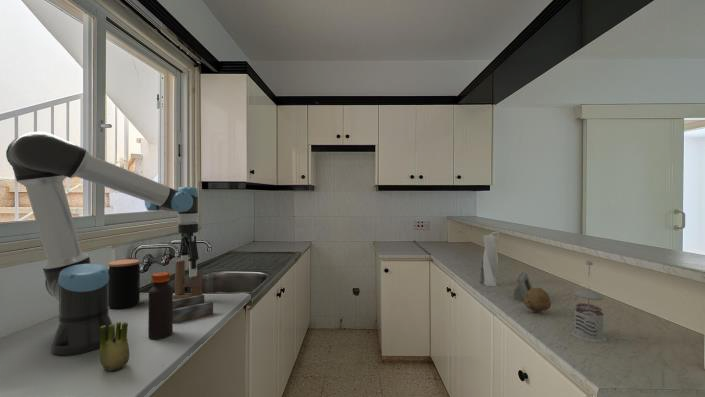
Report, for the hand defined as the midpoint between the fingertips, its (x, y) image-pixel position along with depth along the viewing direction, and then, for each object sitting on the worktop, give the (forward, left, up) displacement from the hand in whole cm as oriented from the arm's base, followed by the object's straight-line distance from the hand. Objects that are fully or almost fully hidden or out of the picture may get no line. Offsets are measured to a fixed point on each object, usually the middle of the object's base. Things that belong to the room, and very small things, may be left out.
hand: (188, 273), depth 137 cm
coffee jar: (-21, +13, -13) cm, 28 cm away
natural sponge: (+104, -100, -13) cm, 145 cm away
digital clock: (+120, -89, -13) cm, 150 cm away
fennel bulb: (-28, -44, -13) cm, 54 cm away
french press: (+94, -118, -13) cm, 151 cm away
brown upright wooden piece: (0, 0, -13) cm, 13 cm away
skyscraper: (+129, -68, -13) cm, 146 cm away
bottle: (-15, -29, -13) cm, 35 cm away
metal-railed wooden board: (-3, -14, -12) cm, 19 cm away
